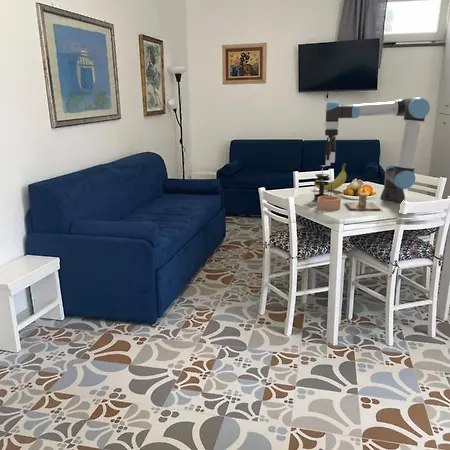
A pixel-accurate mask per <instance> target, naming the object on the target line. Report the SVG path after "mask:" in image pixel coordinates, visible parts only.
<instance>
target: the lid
mask: <svg viewBox="0 0 450 450" xmlns="http://www.w3.org/2000/svg"><path fill="white" fill-rule="evenodd" d="M358 194H359V195H358V201H356V202H355V201H350V202H349V201H347V202H344V204H346V206H347V207H348V208H349V209H350V211H349V212H381V211H380V209H381V208H380V207H379V206H378V205H377V204H376V203H374V202H372V201H367V196H368V195H367V194H366V193H365V192H359V193H358Z"/></svg>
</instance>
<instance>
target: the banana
mask: <svg viewBox="0 0 450 450" xmlns="http://www.w3.org/2000/svg"><path fill="white" fill-rule="evenodd" d="M346 166H347V163H345V162H343V164H342V165H341V167H342V168H341V172H339V174H338V176H337V177H336V178H335V179H334V180H332V181H330V182H331V183H332V191H334V190H337V189H339V188H340V187H341V186H342V185H344V183H345V182H346V180H347V172H346V170H345V167H346ZM316 181H319V179H315V180H314V181H313V184H314V187H315V188H317V189H319V187H320V185H315V182H316ZM331 183H329V191H331ZM324 190H328V185H324Z"/></svg>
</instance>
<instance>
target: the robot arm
mask: <svg viewBox="0 0 450 450" xmlns="http://www.w3.org/2000/svg"><path fill="white" fill-rule="evenodd" d="M325 107H326V109H325V123H324V125H325V127H324V128H325V130H324V135H325V136H326V143H325V144H326V146H325V151H324V155H325V167H328V166H329V167H330V166H331V164H333V163H335V161H336V153H337V151H338V150H337V145H336V137H337V136H338V135H339V129H338V128H339V119H358V118H359V117H371V116H376V117H377V116H388V115H389V116H391V115H392V116H394V117H403V121H404V123H405V125H404V130H403V134H402V140H401V145H400V151H399V156H398V162H397V163H396V164H387V165H386V166H385V169H384V170H385V173H384V186H383V190H382V191H381V195H380V200H383V201H385V202H386V201H387V202H394V203H402V202H401V201H403V200H406V196H405V195H406V194H405V191H404V190H407V189H410V188H411V187H413V186H414V184H415V182H416V175H415V169H416V167H415V166H414V160H415V157H416V156H415V155H416V150H417V146H418V141H419V135H420V129H421V125H422V124H423V123H425V119H426V117H427V116H428V114H429V113H430V110H431V106H430V102H429V101H428V100H427V98H424V97H420V96H418V97H417V96H416V97H406V98H402V99H394V100H393V101H387V102H386V101H385V102H371V103H359V104H358V103H357V104H355V103H354V104H341V105H340V102H339V101H338V102H337V101H336V102H335V101H332V102H331V101H330V102H327V103H326V105H325ZM327 136H328V137H327ZM403 202H404V201H403Z"/></svg>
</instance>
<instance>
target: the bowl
mask: <svg viewBox="0 0 450 450" xmlns="http://www.w3.org/2000/svg"><path fill="white" fill-rule="evenodd" d="M316 202H317V204H316V208H317V209H318V210H319V211H326V210H327V211H328V210H329V211H333V210H334V211H335V210H339V209H341V197H340V196H335V195H331V196H320V197H318V200H317V201H316Z"/></svg>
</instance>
